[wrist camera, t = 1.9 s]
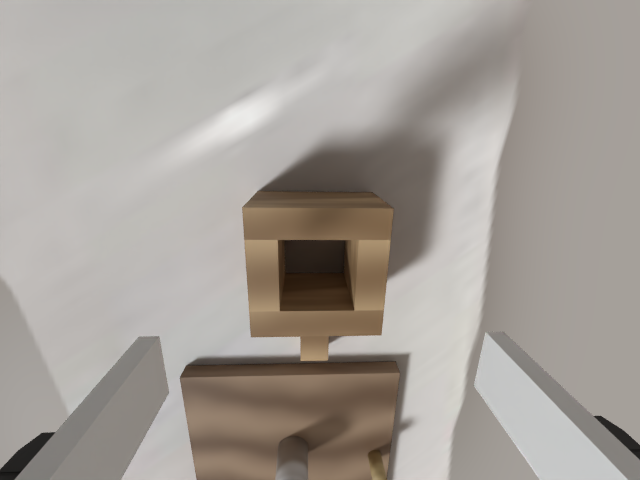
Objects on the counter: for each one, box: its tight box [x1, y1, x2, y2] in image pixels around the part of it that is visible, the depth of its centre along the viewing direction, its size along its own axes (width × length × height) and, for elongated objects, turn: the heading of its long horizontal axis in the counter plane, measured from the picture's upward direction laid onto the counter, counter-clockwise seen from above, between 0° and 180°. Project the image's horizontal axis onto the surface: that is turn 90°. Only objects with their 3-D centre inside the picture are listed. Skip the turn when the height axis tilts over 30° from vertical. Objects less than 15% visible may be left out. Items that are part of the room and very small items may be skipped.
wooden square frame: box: [242, 191, 394, 361], centre depth 23 cm, size 14×9×6 cm, turn 179°
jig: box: [180, 362, 400, 480], centre depth 28 cm, size 18×20×6 cm
